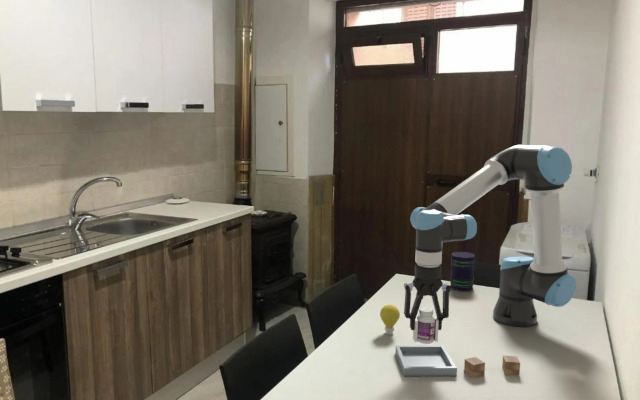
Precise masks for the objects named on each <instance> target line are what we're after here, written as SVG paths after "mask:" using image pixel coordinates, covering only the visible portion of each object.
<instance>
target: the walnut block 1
mask: <svg viewBox="0 0 640 400" xmlns="http://www.w3.org/2000/svg"><path fill="white" fill-rule="evenodd" d="M463 364H464V366H463V372H464V373H465V374H467V376H470V377H471V378H472V379H474V378H479V377H484V376H485V374H486V373H485V371H486V362H484V361H483V360H482V359H480V358H479V357H477V356H474V357H469V358H464V362H463Z"/></svg>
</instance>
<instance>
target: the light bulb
mask: <svg viewBox="0 0 640 400" xmlns="http://www.w3.org/2000/svg"><path fill="white" fill-rule="evenodd" d="M379 315H380V319H381V321H382V322H383V324H384V331H385V334H386V335H393V333H394V331H395V327H394V326H396V324H397V322H398V321H399V319H400V315H401V314H400V310H399V308H398V307H397V306H396V305H393V304H386V305H383V307H382V308H381V309H380V312H379Z"/></svg>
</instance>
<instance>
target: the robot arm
mask: <svg viewBox="0 0 640 400" xmlns="http://www.w3.org/2000/svg"><path fill="white" fill-rule="evenodd" d="M572 163H573V162H572V159H571V157H570V155H569V153H568V152H567V151H566V150H565V149H564V148H561V147H558V146H553V145H539V144H537V145H536V144H535V145H533V144H517V145H513V146H511V147H508V148H506V149H504V150H502V151H499V153H497V154H495V155H493V156H492V157H490V158H489V159H488V160H486V161H485V163H484V165H483V167H481V169H479V170H478V171H476V172H474V173H473V174H471V176H469V177H468V178H466V179H465V180H463V181H462V182H461V183H459V184H458V185H457V186H455V187H454V188H452V189H451V190H449V191H448V192H446V193H445V194H444V195H443V196H441V197H440V198H438V199H437V200H436V201H434V202H433V203H432V204H430V205H429V206H427V207H425V206H420V207H419V206H418V207H415V209H413V211H412V212H411V214H410V218H409V219H410V224H411V226H412V227H413V228H414V229H415V258H414V260H415V263H416V264H414V279H412V282H410V283H407V282H406V283H404V284H403V288H404V290H405V294H404V296H405V297H404V305H403V306H404V308H403V314H404V318H406V319H409V328H410V330H411V331H412V339H413V341H414V343H417V342H418V341H417V335H418V320H417V316H418V312H419V310H420V306H421V303H422V301H423V299H424V297H426V296H429V297H431V299H432V303H433V307H434V311H435V315H436V317H435V316H434V318H435V334H434V343H437V342H438V341H439V340H438V339H439V331H441V330H442V327H443V324H442V323H443V321H444V319H448V318H449V315H450V312H449V311H450V310H449V308H450V292H451V290H452V289H451V286H450V285H451V284H449V283H448V282H447V283H446V282H443V281H442V263H443V261H442V260H443V259H442V258H443V256H442V255H443V243H450V242H460V241H462V242H463V241H467V240H471V239H473V238H474V237H475V236H476V234H477V231H478V225H477V224H478V223H477V221H476V219H475V218H474V217H473V216H472V215H470V214H463V213H461V212H463V211H464V210H465V209H468V207H469V206H471V205H473V203H475V202H476V201H478V200H479V199H480V198H482V197H483V196H485V195H486V194H487V193H489V192H490V191H491V190H493V189H494V188H496V187H497V186H499V185H501V186H502V185H505V184H506V183H507V182H509V181H513V180H522V181H524V189H525V190H526V191H527V192H529V193H530V209H531V223H532V225H531V226H532V242H533V257H531V256H508V257H504V258H503V259H502V260H501V264H500V268H499V288H498V290H499V292H498V298H497V301H496V302H495V305H494V308H493V311H492V317H493V319H494V320H495V321H497V322H499V323H500V324H504V325H508V326H512V327H521V328H522V327H532V326H534V325H536V324H537V322H538V321H537V320H538V313H537V310H536V307H535V304H534V303H535V302H534V300H536V301H538V302H540V303H544V304H546V305H547V306H552V307H555V308H561V307H564V306H566V305H567V304H568V303H569V302H570V301H571V300H572V298H573V297H574V295H575V293H576V290H577V280H576V277H575V276H573V275H572V274H570V273H569V270H568V264H567V262H565V261H564V260H563V250H562V247H563V245H562V226H561V209H560V208H561V206H560V205H561V203H560V202H561V201H560V191H562V189H563V188H564V187H565V183H567V181H568V180H569V179H570V178H571V176H570V175H571V174H572V171H573V165H572ZM460 213H461V214H460ZM413 288H415V290H416V294H415V298H414V301H413V305H412V308H411V302H412V301H411V300H412V291H413ZM440 289H442V310H441V305H440V303H439V297H438V292H439V290H440Z"/></svg>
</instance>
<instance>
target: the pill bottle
mask: <svg viewBox="0 0 640 400" xmlns="http://www.w3.org/2000/svg"><path fill="white" fill-rule="evenodd" d="M418 312H419V315H418V314H417V316H416V318H417V320H418V335H417V342H418V343H420V344H422V345H423V344H424V345H429V344H430V345H431V344H432V343H435V341H434V334H435V318H434V317H435V316H434V310H433V308H430V307H421V308H420V307H419V310H418Z"/></svg>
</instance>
